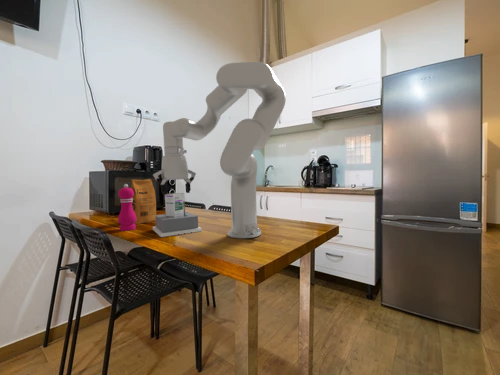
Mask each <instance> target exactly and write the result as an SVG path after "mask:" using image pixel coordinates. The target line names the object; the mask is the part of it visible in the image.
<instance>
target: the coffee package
mask: <svg viewBox="0 0 500 375" xmlns="http://www.w3.org/2000/svg"><path fill="white" fill-rule="evenodd" d="M130 180H131V181H130V182H131V184H132V185H131V187H130V188H131V189H132V190H133V191H134V195H133V197H132V199H133V202H132V208H133V211H134V213H135V215H136V219H137V220H136V222H135V223H134V224H135V225H140V224H141V225H142V224H145V223H147V224H148V223H151V222H156V220H155V215H157V200H156V192H155V191H156V190H155V187H154V186H153V185H154V184H153V182H152V179H150V178H149V179H130Z"/></svg>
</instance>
